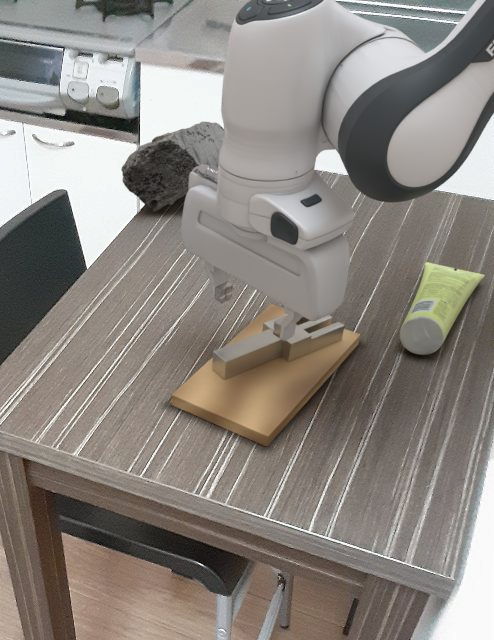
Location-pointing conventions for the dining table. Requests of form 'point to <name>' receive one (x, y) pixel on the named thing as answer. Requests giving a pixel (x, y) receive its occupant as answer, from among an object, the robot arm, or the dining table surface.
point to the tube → (436, 307)
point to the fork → (275, 345)
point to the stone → (171, 163)
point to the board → (261, 386)
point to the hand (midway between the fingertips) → (251, 317)
